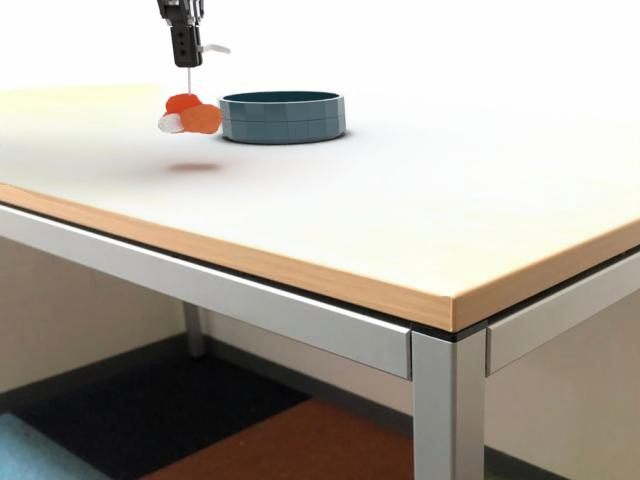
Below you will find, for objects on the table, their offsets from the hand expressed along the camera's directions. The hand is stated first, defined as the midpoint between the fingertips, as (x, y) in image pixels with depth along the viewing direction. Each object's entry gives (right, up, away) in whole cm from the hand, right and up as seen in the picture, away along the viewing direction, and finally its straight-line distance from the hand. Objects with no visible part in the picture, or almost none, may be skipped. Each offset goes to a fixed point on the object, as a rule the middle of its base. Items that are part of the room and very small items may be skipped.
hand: (189, 66), depth 75 cm
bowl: (+4, 0, +26) cm, 26 cm away
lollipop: (0, -6, +3) cm, 7 cm away
